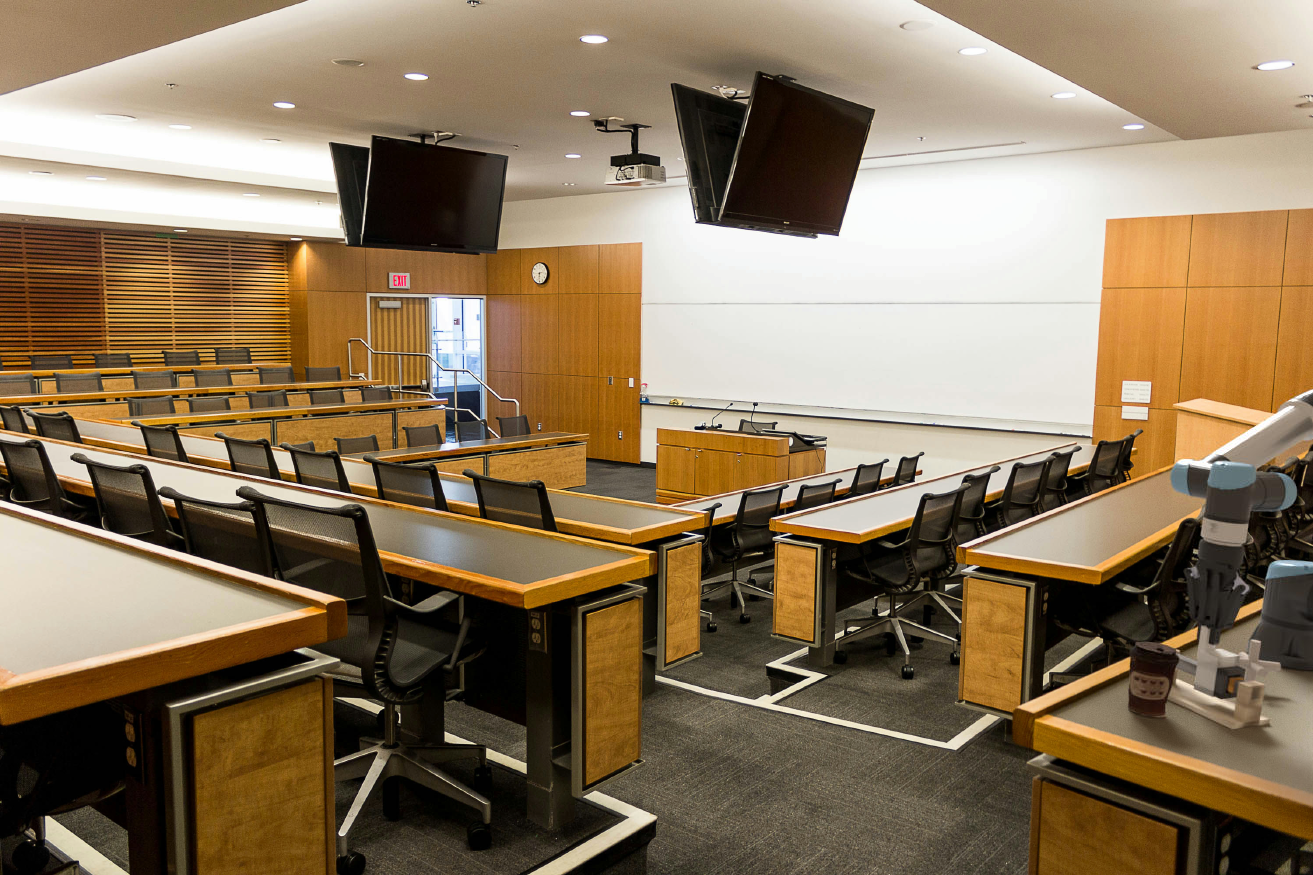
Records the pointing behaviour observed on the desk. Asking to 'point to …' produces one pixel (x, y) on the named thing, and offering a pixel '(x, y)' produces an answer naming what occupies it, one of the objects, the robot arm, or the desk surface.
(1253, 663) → the pipe connector
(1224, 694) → the dark grey block
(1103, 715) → the desk surface
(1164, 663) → the coffee cup
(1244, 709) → the pipe rig
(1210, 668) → the sleeve
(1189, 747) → the desk surface
